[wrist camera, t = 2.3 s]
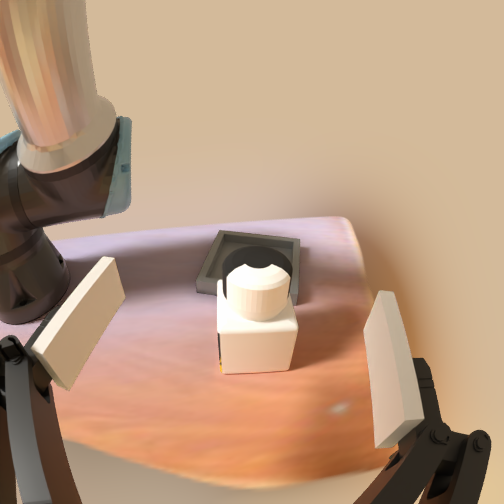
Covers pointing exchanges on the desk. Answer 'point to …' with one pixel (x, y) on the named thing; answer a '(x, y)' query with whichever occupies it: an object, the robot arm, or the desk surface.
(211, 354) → the desk surface
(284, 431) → the desk surface
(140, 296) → the desk surface
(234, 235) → the bottle tray
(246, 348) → the medicine bottle
